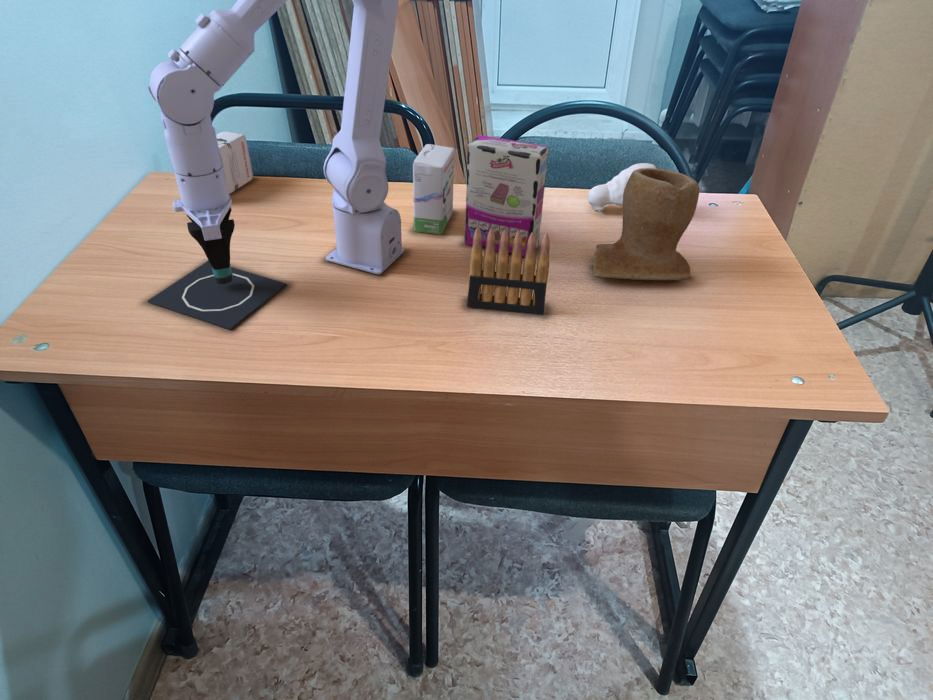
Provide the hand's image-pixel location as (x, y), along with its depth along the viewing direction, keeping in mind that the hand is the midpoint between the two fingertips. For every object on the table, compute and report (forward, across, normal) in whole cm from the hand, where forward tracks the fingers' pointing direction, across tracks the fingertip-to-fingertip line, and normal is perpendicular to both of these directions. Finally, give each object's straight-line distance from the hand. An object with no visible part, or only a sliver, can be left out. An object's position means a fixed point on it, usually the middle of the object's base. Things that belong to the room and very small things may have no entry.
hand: (220, 262), depth 89 cm
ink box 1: (0, -28, -2) cm, 28 cm away
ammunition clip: (+4, +17, +36) cm, 40 cm away
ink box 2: (+4, -10, +34) cm, 36 cm away
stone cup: (+5, +13, +59) cm, 61 cm away
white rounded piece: (+5, -5, +67) cm, 67 cm away
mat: (+4, +1, -1) cm, 4 cm away
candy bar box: (+5, 0, +42) cm, 42 cm away
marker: (+3, 0, 0) cm, 3 cm away
